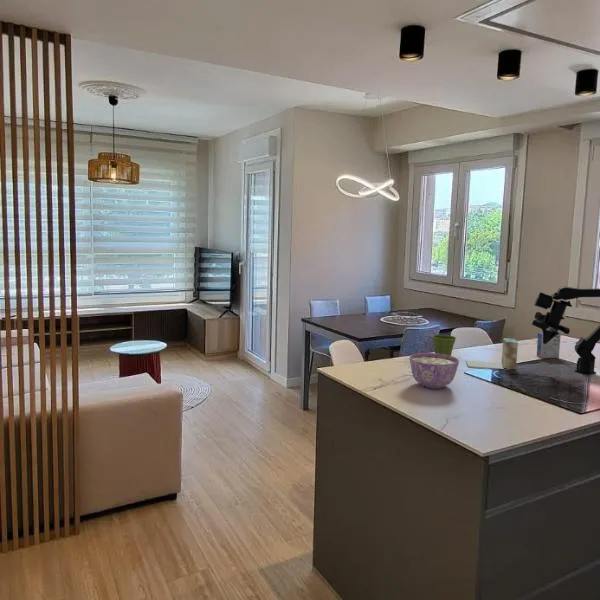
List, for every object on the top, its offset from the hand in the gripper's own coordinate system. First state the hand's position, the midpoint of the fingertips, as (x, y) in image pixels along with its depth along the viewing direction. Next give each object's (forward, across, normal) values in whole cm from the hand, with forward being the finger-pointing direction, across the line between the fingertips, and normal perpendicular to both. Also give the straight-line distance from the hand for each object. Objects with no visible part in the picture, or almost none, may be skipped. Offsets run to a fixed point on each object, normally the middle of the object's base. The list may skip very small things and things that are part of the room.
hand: (544, 343), depth 245 cm
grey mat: (+18, +20, -10) cm, 29 cm away
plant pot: (+24, +31, -27) cm, 47 cm away
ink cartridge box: (+10, -23, -15) cm, 30 cm away
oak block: (+16, +11, -4) cm, 20 cm away
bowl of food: (+24, +63, +10) cm, 69 cm away
